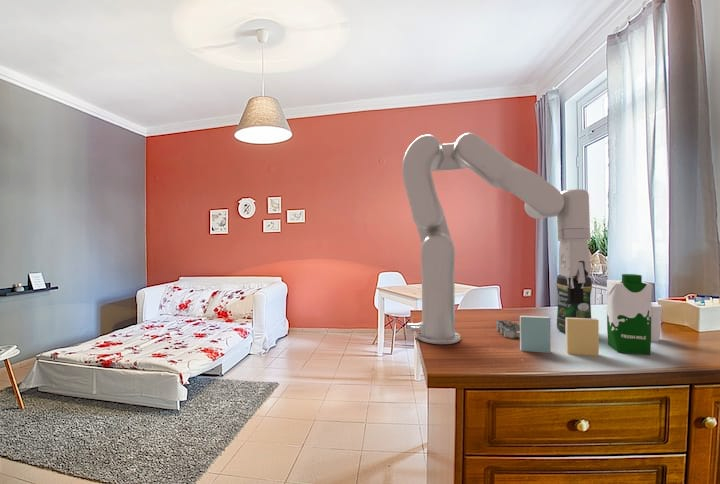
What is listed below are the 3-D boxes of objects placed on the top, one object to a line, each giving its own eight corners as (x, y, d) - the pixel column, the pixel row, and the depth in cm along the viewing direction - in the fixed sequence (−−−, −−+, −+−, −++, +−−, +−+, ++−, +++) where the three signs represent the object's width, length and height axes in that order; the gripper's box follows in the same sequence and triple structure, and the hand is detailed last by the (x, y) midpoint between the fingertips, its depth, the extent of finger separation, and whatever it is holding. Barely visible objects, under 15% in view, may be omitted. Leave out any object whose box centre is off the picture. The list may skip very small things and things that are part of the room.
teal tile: (521, 350, 91) (521, 316, 91) (520, 348, 93) (519, 315, 93) (550, 352, 90) (550, 318, 89) (548, 350, 91) (548, 316, 91)
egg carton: (529, 339, 102) (529, 326, 102) (503, 339, 103) (503, 325, 103) (518, 330, 112) (518, 317, 112) (494, 329, 113) (494, 317, 113)
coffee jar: (552, 328, 112) (551, 271, 112) (575, 328, 113) (575, 271, 113) (571, 337, 103) (571, 275, 103) (597, 336, 103) (597, 274, 103)
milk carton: (614, 353, 88) (614, 275, 88) (602, 342, 97) (602, 271, 97) (656, 356, 86) (656, 276, 85) (640, 345, 94) (640, 272, 94)
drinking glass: (662, 343, 96) (662, 307, 96) (632, 339, 100) (632, 305, 100) (660, 337, 101) (660, 303, 101) (631, 334, 105) (631, 301, 105)
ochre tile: (567, 353, 89) (567, 318, 89) (565, 351, 90) (565, 317, 90) (598, 355, 87) (598, 320, 87) (595, 353, 89) (595, 318, 88)
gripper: (550, 236, 102) (552, 297, 102) (567, 236, 88) (570, 308, 88) (578, 235, 100) (580, 298, 100) (601, 234, 86) (603, 308, 86)
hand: (575, 302), depth 94 cm, fingers closed
